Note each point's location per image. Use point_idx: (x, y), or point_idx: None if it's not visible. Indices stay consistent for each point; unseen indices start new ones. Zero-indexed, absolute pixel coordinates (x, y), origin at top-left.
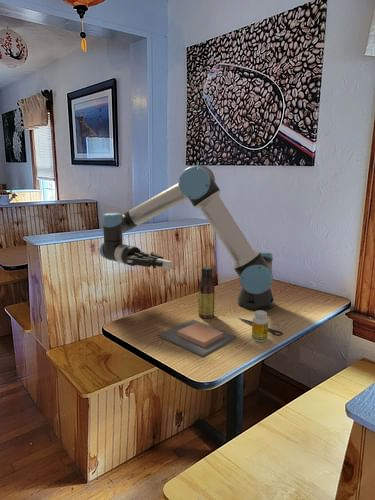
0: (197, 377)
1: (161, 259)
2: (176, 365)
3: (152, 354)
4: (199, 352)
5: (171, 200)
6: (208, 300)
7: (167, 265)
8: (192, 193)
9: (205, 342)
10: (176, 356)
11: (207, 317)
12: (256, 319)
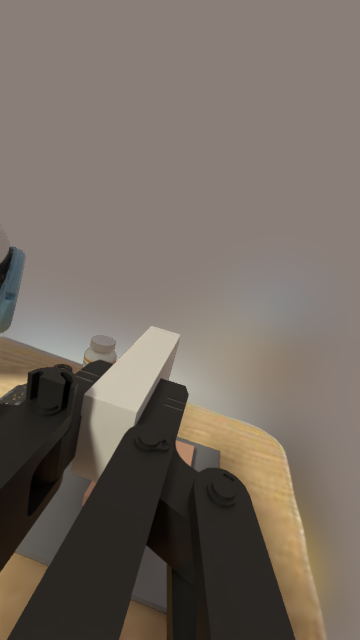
0: (274, 446)
1: (128, 372)
2: (281, 487)
3: (304, 567)
4: (215, 458)
5: None
6: None
7: (170, 366)
8: None
9: (188, 445)
10: (257, 501)
11: None
12: (111, 355)
